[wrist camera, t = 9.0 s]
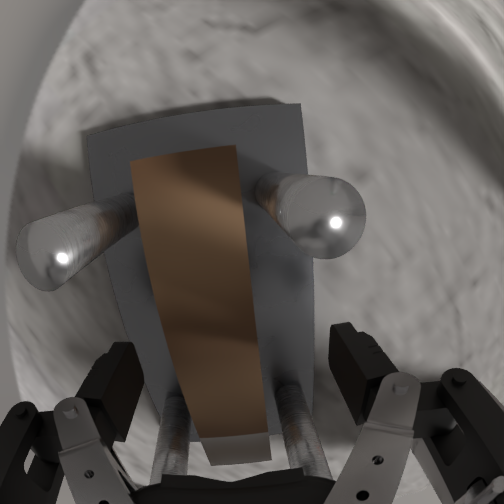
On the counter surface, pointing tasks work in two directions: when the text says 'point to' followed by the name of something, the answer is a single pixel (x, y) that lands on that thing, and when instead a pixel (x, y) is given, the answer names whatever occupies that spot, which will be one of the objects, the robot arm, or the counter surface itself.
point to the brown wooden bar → (205, 295)
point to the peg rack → (259, 255)
